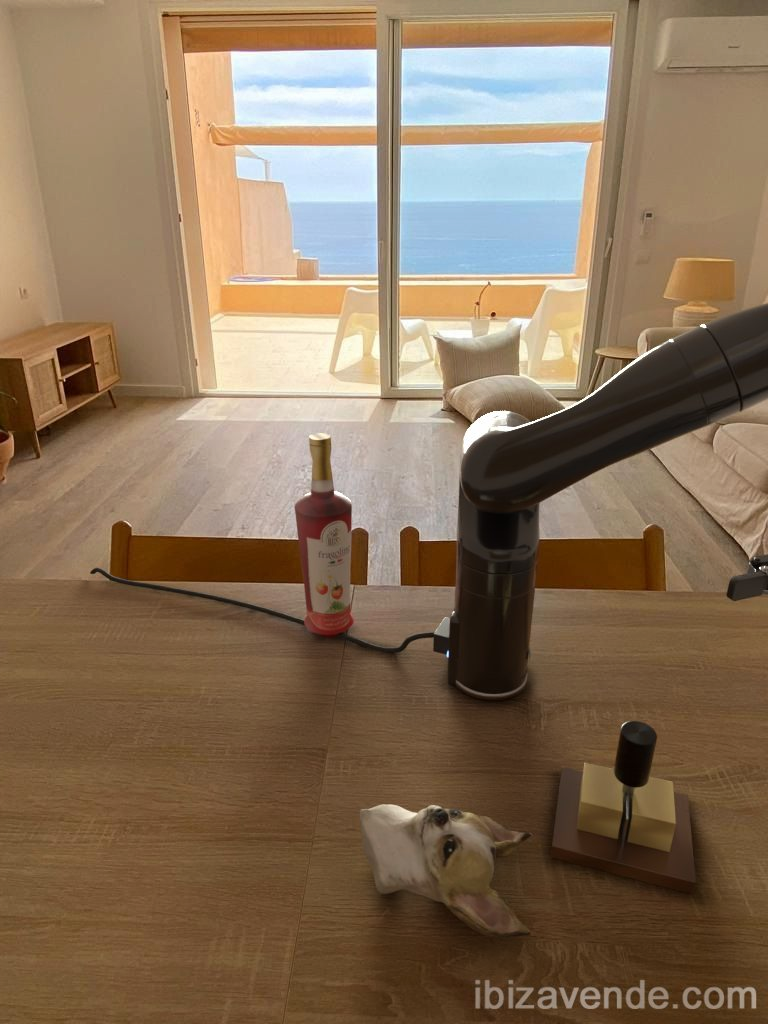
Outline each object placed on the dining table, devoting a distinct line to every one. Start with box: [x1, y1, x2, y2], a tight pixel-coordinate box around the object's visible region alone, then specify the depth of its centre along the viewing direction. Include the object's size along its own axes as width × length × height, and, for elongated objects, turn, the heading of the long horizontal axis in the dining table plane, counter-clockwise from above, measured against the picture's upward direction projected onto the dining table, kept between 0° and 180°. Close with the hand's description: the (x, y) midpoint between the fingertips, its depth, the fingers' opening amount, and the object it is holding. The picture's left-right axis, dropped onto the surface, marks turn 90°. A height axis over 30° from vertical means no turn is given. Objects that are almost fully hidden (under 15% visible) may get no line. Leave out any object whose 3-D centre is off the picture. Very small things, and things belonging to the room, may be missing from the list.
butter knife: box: [613, 720, 658, 847], centre depth 63 cm, size 3×6×10 cm, turn 162°
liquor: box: [294, 432, 355, 638], centre depth 91 cm, size 7×7×28 cm
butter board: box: [550, 762, 697, 895], centre depth 64 cm, size 12×10×5 cm
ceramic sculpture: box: [358, 803, 533, 939], centre depth 59 cm, size 11×9×15 cm
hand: (766, 614), depth 61 cm, fingers open, 8 cm apart
